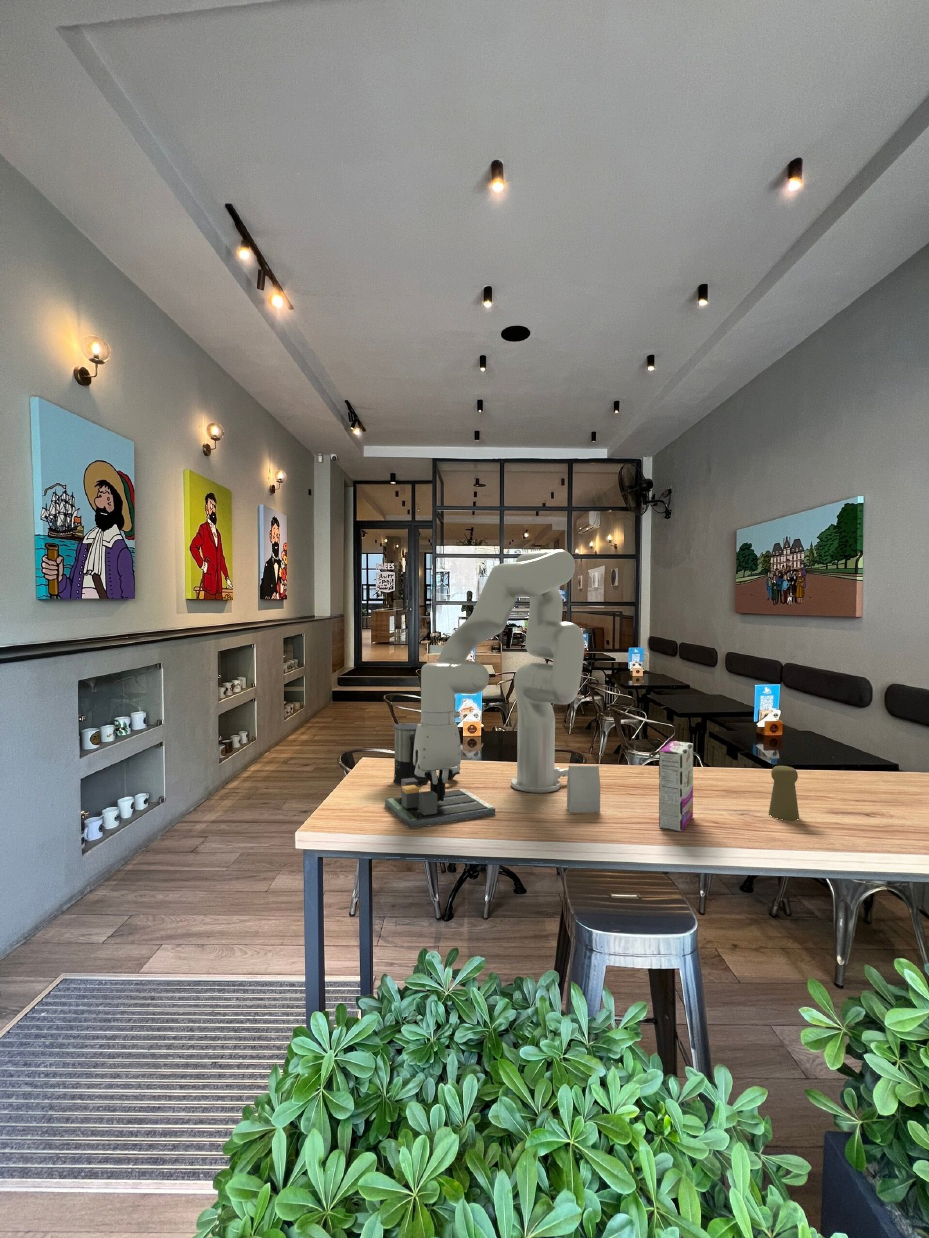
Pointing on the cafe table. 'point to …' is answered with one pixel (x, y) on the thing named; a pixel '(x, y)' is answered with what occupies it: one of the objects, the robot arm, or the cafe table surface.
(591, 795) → the grey boxy piece
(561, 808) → the cafe table surface
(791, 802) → the cork
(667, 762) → the candy bar box
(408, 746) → the milk frother
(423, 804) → the breaker near
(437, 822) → the panel
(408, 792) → the block
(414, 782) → the block
